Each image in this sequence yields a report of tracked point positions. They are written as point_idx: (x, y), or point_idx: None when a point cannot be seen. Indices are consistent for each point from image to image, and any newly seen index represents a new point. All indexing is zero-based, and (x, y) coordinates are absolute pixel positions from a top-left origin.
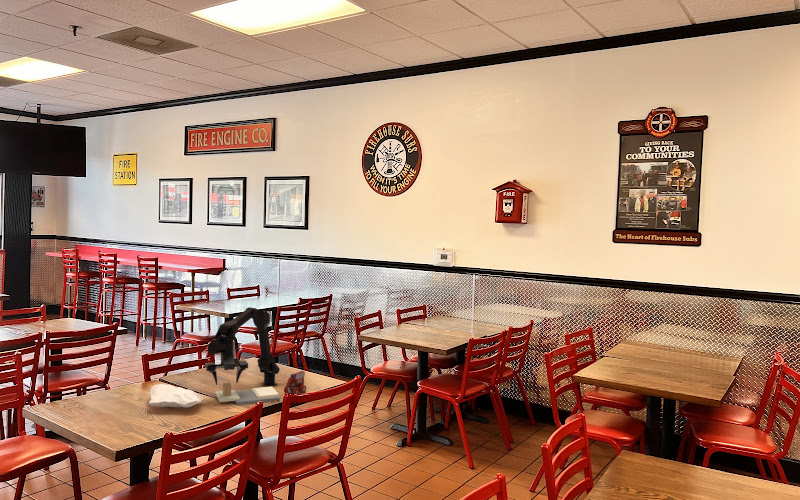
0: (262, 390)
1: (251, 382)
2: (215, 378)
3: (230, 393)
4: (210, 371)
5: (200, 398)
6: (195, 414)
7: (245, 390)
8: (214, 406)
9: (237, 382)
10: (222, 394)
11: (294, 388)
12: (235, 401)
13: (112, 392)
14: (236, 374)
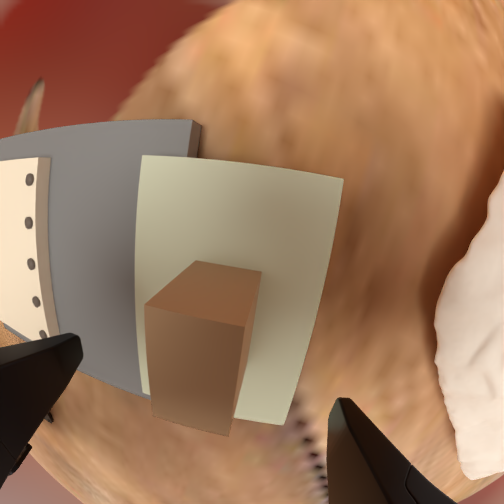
0: (11, 276)
1: (88, 451)
2: (395, 465)
3: (194, 267)
4: None
5: (500, 234)
6: (499, 97)
7: (90, 372)
8: (376, 184)
9: (65, 333)
10: (259, 338)
11: None
12: None
13: (490, 478)
14: (29, 427)
